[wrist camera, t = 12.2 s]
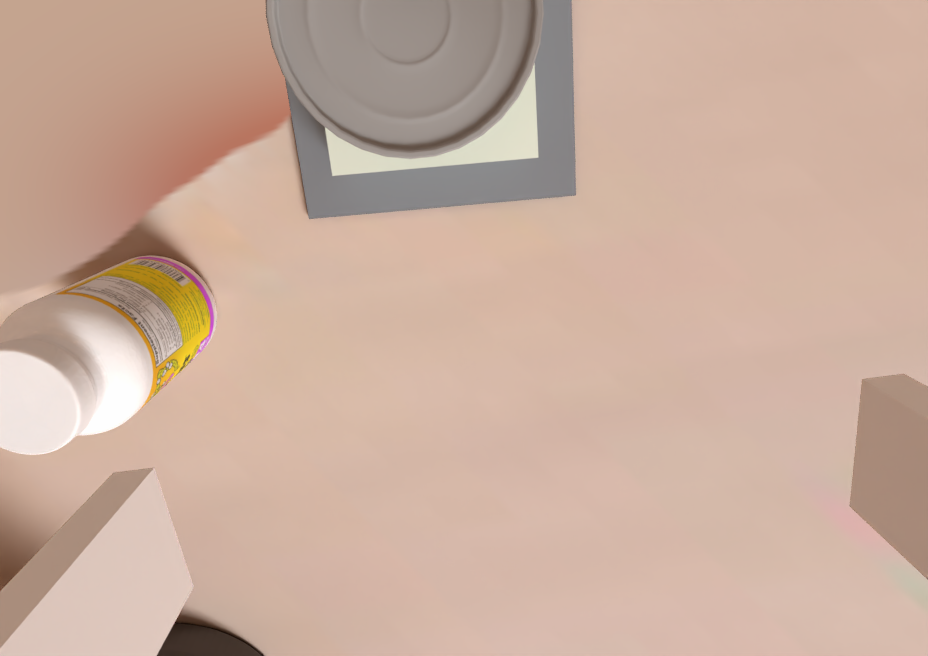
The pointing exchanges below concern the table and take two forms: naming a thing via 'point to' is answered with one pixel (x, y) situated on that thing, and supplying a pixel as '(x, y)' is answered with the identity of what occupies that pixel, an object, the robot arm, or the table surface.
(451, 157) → the cream base block
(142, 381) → the supplement bottle
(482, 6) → the canned tomato
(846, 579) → the table surface
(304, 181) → the grey flat square
